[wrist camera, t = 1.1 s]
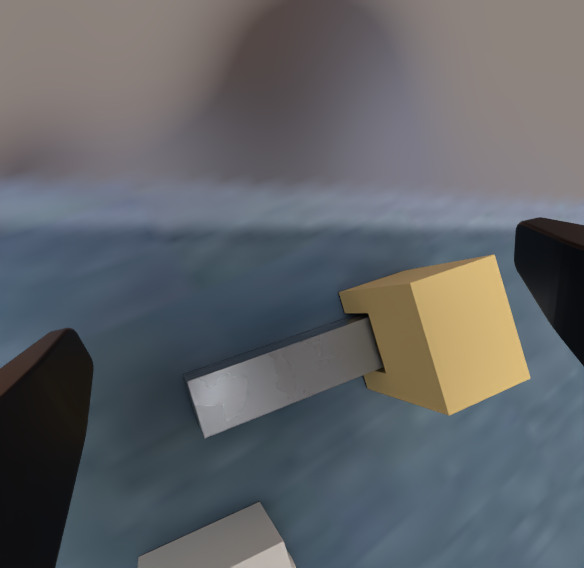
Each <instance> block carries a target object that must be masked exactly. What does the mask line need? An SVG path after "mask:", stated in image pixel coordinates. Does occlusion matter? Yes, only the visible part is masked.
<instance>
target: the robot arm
mask: <svg viewBox="0 0 584 568" xmlns="http://www.w3.org/2000/svg"><path fill="white" fill-rule="evenodd" d="M514 263H515V267H516V269H517V271H518V273H519V275H520V276H521V278H522V279H523V281H524V283H525V284H526V286H527V287H528V289H529V291H530V292H531V294H532V295H533V297H534V299H535V300H536V302H537V303H538V305H539V307H540V308H541V310H542V312H543V313H544V315H545V316H546V318H547V319H548V321H549V322H550V324H551V325H552V327H553V328H554V330H555V331H556V332H557V333H558V335H559V336H560V337H561V339H562V340H563V341H564V342H565V344H566V345H567V346H568V347H569V349H570V350H571V351H572V352H573V354H574V355H575V356H576V357H577V359H578V360H579V361H580V362H581V364H582V365H583V366H584V225H580V224H574V223H569V222H563V221H558V220H552V219H547V218H541V217H539V218H534V219H530V220H525V221H522V222H520V223H519V224H518V225H517V227H516V234H515V251H514ZM92 378H93V361H92V358H91V356H90V355H89V353H88V351H87V349H86V348H85V346H84V344H83V343H82V341H81V339H80V337H79V336H78V334H77V333H76V331H75V330H74V329H71V328H64V329H60V330H55V331H52V332H49V333H48V334H46V335H45V336H44V337H42V338H41V339H40V340H38V341H37V342H36V343H34V344H33V345H32V346H30V347H29V348H28V349H26V350H25V351H24V352H22V353H21V354H19V355H18V356H17V357H15V358H14V359H13V360H11V361H10V362H9V363H7V364H6V365H5V366H3V367H2V368H1V369H0V568H55V567H56V562H57V558H58V554H59V549H60V545H61V541H62V536H63V532H64V528H65V524H66V519H67V515H68V511H69V506H70V502H71V498H72V493H73V489H74V485H75V481H76V476H77V472H78V468H79V463H80V459H81V455H82V450H83V446H84V441H85V436H86V430H87V423H88V414H89V405H90V396H91V387H92Z"/></svg>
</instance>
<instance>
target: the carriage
mask: <svg viewBox="0 0 584 568" xmlns="http://www.w3.org/2000/svg"><path fill="white" fill-rule="evenodd" d="M339 295H340V298H341V302H342V305H343V308H344V312H345V313H368V314H369V318H370V321H371V324H372V328H373V331H374V334H375V338H376V341H377V344H378V348H379V351H380V354H381V358H382V361H383V364H384V367H383V368H380V369H378V370H375V371H372V372H370V373H367V374H365V375H364V378H365V382H366V385H367V388H368V389H370V390H373V391H376V392H379V393H382V394H385V395H388V396H391V397H394V398H397V399H400V400H403V401H406V402H409V403H412V404H415V405H418V406H422V407H425V408H428V409H431V410H434V411H437V412H440V413H443V414H446V415H452V414H454V413H456V412H458V411H460V410H462V409H465V408H467V407H469V406H471V405H473V404H476V403H478V402H480V401H482V400H484V399H486V398H489V397H491V396H493V395H495V394H497V393H500V392H502V391H504V390H506V389H508V388H510V387H513V386H515V385H517V384H519V383H521V382H524V381H526V380H528V379H530V375H529V371H528V368H527V365H526V361H525V358H524V354H523V351H522V347H521V344H520V341H519V337H518V334H517V330H516V327H515V323H514V320H513V316H512V313H511V310H510V306H509V303H508V299H507V296H506V292H505V289H504V286H503V282H502V279H501V275H500V272H499V268H498V265H497V262H496V258H495V255H489V256H483V257H478V258H472V259H466V260H461V261H455V262H450V263H444V264H438V265H433V266H427V267H421V268H416V269H410V270H405V271H402V272H399V273H396V274H393V275H389V276H386V277H383V278H380V279H377V280H374V281H371V282H368V283H365V284H362V285H359V286H356V287H353V288H350V289H347V290H344V291H341V292H339Z"/></svg>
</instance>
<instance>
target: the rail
mask: <svg viewBox="0 0 584 568" xmlns="http://www.w3.org/2000/svg"><path fill="white" fill-rule="evenodd" d="M383 367H384V364H383V361H382V358H381V354H380V351H379V348H378V344H377V341H376V338H375V334H374V331H373V328H372V324H371V321H370V318H369V314H368V313H358V314H355V315H352V316H349V317H346V318H344V319H341V320H338V321H335V322H332V323H329V324H326V325H323V326H321V327H318V328H315V329H312V330H309V331H306V332H303V333H301V334H298V335H295V336H292V337H289V338H286V339H283V340H281V341H278V342H275V343H272V344H269V345H266V346H263V347H260V348H258V349H255V350H252V351H249V352H246V353H243V354H240V355H238V356H235V357H232V358H229V359H226V360H223V361H220V362H218V363H215V364H212V365H209V366H206V367H203V368H200V369H197V370H195V371H192V372H189V373H186V374H183V377H184V380H185V383H186V386H187V390H188V393H189V396H190V399H191V403H192V406H193V409H194V412H195V415H196V419H197V422H198V425H199V427H200V429H201V431H202V433H203V436H204V438H207V437H209V436H212V435H214V434H217V433H219V432H222V431H224V430H227V429H229V428H232V427H234V426H237V425H239V424H242V423H244V422H247V421H249V420H252V419H254V418H257V417H259V416H262V415H264V414H267V413H269V412H272V411H274V410H277V409H279V408H282V407H284V406H287V405H290V404H292V403H295V402H297V401H300V400H302V399H305V398H307V397H310V396H312V395H315V394H317V393H320V392H322V391H325V390H327V389H330V388H332V387H335V386H337V385H340V384H342V383H345V382H347V381H350V380H352V379H355V378H357V377H360V376H362V375H365V374H367V373H370V372H372V371H375V370H378V369H380V368H383Z"/></svg>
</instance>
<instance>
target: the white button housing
mask: <svg viewBox="0 0 584 568" xmlns="http://www.w3.org/2000/svg"><path fill="white" fill-rule="evenodd" d="M138 568H296V566H295V563H294V561H293V559H292V557H291V555H290V554H289V552H288V551H287V550H286V547H285V544H284V541H283V539H282V538H281V536H280V534H279V533H278V531H277V529H276V528H275V526H274V525H273V523H272V521H271V520H270V518H269V516H268V515H267V513H266V511H265V510H264V508H263V506H262V505H261V503H260V502H258V503H255V504H253V505H251V506H249V507H247V508H244V509H242V510H240V511H238V512H236V513H234V514H231V515H229V516H227V517H225V518H223V519H220V520H218V521H216V522H214V523H212V524H210V525H207V526H205V527H203V528H201V529H199V530H196V531H194V532H192V533H190V534H188V535H185V536H183V537H181V538H179V539H177V540H175V541H172V542H170V543H168V544H166V545H164V546H161V547H159V548H157V549H155V550H153V551H151V552H148V553H146V554H144V555H142V556H140V557H138Z"/></svg>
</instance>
